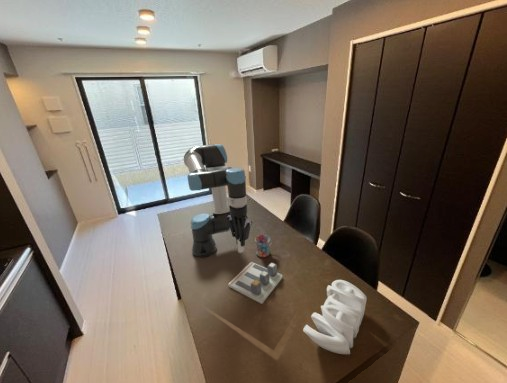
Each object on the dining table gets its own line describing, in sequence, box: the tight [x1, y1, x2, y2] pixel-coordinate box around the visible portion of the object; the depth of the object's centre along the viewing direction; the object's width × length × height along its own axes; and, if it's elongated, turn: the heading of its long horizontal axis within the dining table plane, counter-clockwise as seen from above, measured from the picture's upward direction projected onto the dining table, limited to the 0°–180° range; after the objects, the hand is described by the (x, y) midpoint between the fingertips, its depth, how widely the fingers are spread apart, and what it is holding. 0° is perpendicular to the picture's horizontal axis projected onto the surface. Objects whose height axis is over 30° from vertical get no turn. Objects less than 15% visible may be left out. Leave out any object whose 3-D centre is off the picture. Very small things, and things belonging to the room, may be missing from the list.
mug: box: [254, 234, 274, 258], centre depth 137 cm, size 12×9×11 cm
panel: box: [228, 261, 283, 304], centre depth 115 cm, size 20×20×7 cm
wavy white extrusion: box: [302, 279, 368, 355], centre depth 91 cm, size 35×16×11 cm, turn 139°
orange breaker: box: [251, 280, 262, 295], centre depth 107 cm, size 4×4×6 cm
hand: (241, 250), depth 105 cm, fingers closed
